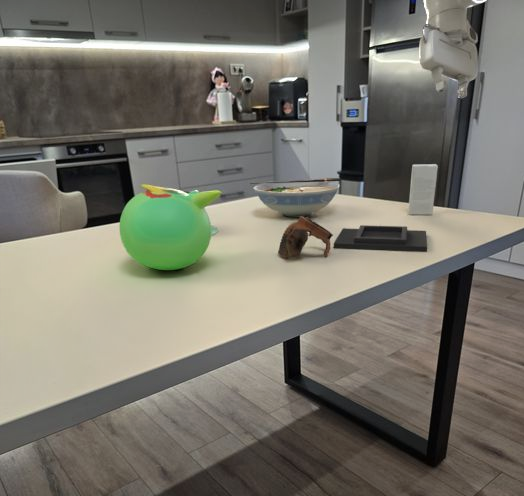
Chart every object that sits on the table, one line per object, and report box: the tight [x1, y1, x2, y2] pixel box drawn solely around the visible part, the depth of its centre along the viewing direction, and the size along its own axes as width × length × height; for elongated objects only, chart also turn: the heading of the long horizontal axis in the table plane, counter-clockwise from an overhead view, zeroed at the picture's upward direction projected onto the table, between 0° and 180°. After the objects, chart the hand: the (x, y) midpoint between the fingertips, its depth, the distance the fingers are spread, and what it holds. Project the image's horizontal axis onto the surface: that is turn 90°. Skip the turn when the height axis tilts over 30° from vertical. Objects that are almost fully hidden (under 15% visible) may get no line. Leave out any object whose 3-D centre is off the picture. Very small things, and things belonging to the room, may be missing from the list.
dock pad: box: [333, 224, 428, 253], centre depth 100 cm, size 18×14×2 cm
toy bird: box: [119, 183, 222, 271], centre depth 85 cm, size 18×17×15 cm
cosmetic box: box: [407, 163, 439, 216], centre depth 123 cm, size 6×4×12 cm
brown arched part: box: [277, 216, 333, 260], centre depth 91 cm, size 12×10×8 cm
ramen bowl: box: [249, 177, 342, 218], centre depth 128 cm, size 25×23×8 cm
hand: (452, 93), depth 115 cm, fingers open, 8 cm apart
